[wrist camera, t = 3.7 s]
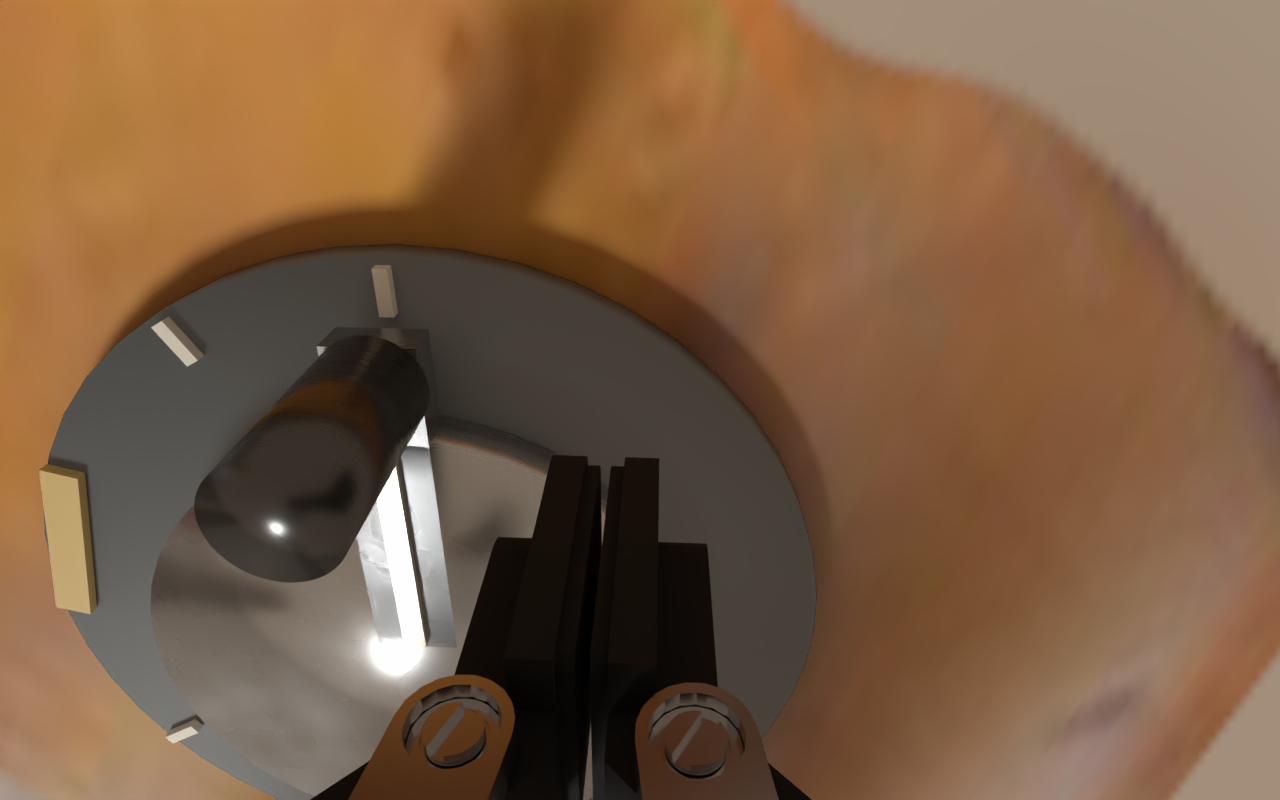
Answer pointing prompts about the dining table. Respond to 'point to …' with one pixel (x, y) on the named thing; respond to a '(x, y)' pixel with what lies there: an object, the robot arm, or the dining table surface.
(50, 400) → the dining table surface
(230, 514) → the dial
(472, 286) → the dial plate
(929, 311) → the dining table surface
